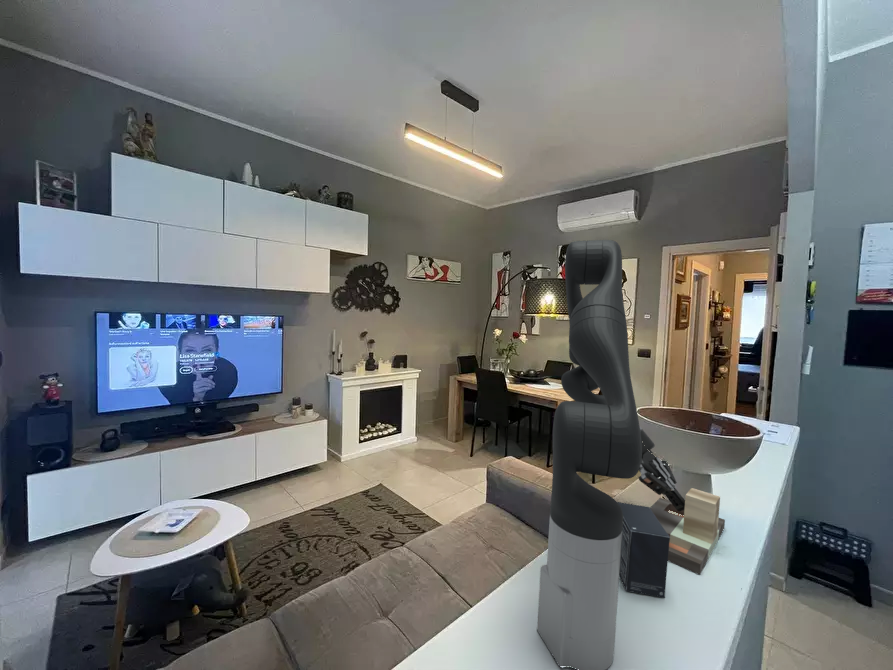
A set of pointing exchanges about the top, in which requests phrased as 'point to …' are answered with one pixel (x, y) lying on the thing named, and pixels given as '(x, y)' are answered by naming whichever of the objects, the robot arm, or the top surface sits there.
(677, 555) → the board
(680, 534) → the pad
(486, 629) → the top surface
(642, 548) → the small box
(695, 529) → the maple block
